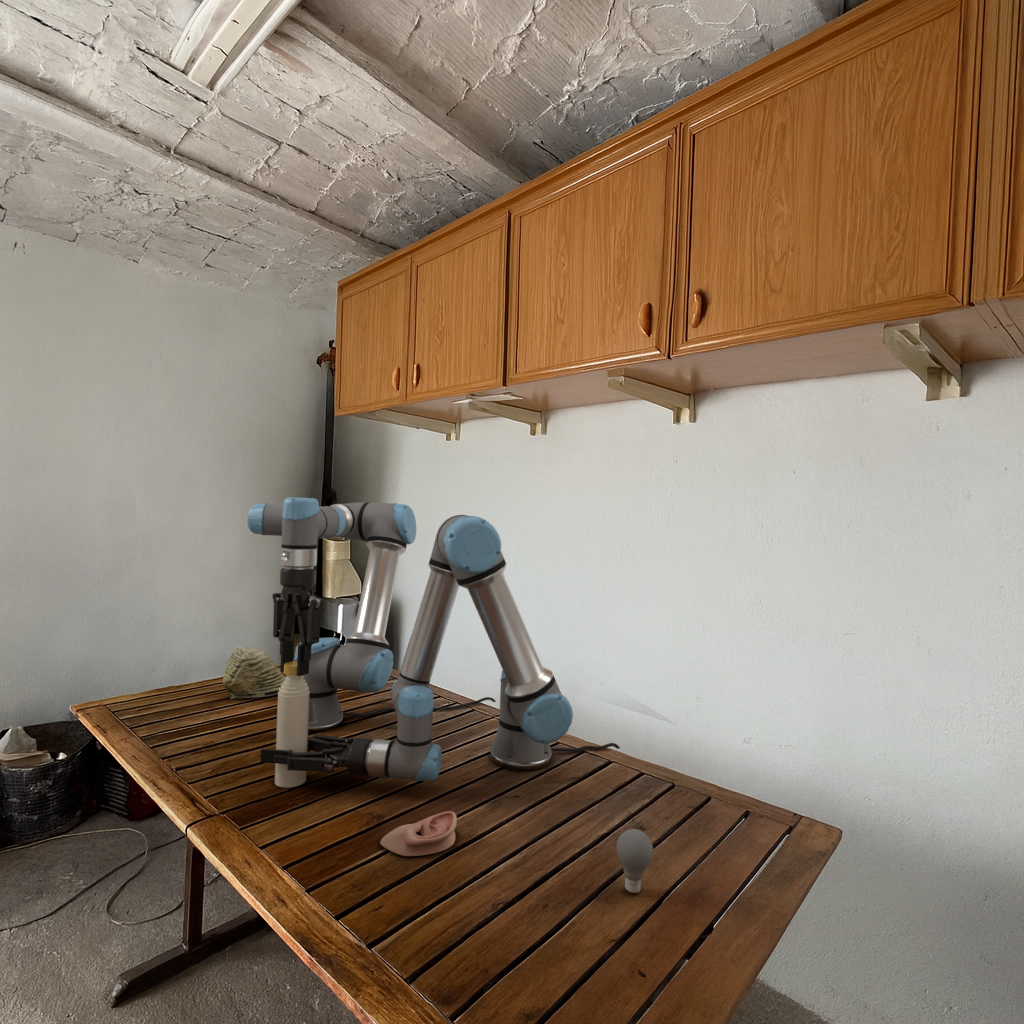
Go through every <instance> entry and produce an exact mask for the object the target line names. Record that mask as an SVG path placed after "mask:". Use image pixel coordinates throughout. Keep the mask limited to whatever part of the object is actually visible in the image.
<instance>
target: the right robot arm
mask: <svg viewBox="0 0 1024 1024" xmlns="http://www.w3.org/2000/svg"><path fill="white" fill-rule="evenodd" d="M428 567H429V569H430V573H429V576H428V579H427V582H426V585H425V589H424V592H423V594H422V595H423V596H422V598H421V602H420V604H419V608H418V612H417V614H416V617H415V621H414V624H413V628H412V631H411V634H410V638H409V641H408V644H407V647H406V650H405V653H404V657H403V661H402V664H401V667H400V670H399V674H398V676H397V679H396V680H395V681H394V683H393V684H392V687H391V691H390V699H391V700H390V701H391V702H392V704H393V707H395V710H394V711H395V714H396V717H397V726H396V727H397V730H396V731H397V734H396V740H391V739H378V738H374V739H371V738H364V737H357V738H354V737H339V736H333V735H332V736H331V735H324V734H313V735H312V736H308V747H307V752H303V753H292V750H289V751H288V750H276V748H264V747H263V748H261V749H260V763H266V764H275V763H277V764H288V767H287V770H293V771H307V772H316V773H317V772H318V773H319V772H320V773H326V774H333V773H334V769H335V768H345V767H346V769H347V770H348V773H349V774H350V775H352V776H353V775H354V776H365V777H366V776H367V775H368V776H369V777H378V778H380V779H384V778H390V779H399V780H400V779H402V780H408V781H409V780H410V781H415V782H432V781H436V779H438V777H439V775H440V771H441V767H442V761H443V753H442V751H443V750H442V747H441V746H440V745H439V744H436V743H434V742H433V736H432V735H433V719H434V718H433V717H434V716H433V715H434V710H433V708H435V703H434V692H433V690H432V689H431V688H430V687H429V685H430V683H431V679H432V676H433V672H434V669H435V666H436V663H437V659H438V656H439V653H440V650H441V647H442V643H443V640H444V637H445V634H446V630H447V628H448V625H449V621H450V618H451V614H452V611H453V607H454V606H455V605H454V604H455V601H456V598H457V596H458V595H457V594H458V592H459V589H460V587H461V588H464V589H466V590H467V591H468V593H469V595H470V598H471V600H472V602H473V604H474V607H475V609H476V612H477V614H478V616H479V618H480V621H481V623H482V625H483V628H484V630H485V632H486V635H487V637H488V639H489V641H490V644H491V646H492V649H493V651H494V652H495V656H496V658H497V660H498V662H499V665H500V667H501V669H502V670H501V673H500V674H501V675H500V680H499V681H500V689H499V690H500V693H499V717H498V718H499V719H498V727H497V730H496V733H495V736H494V739H493V741H492V744H491V746H490V756H489V757H490V760H491V762H493V763H494V764H495V765H497V766H500V767H502V768H504V769H508V770H514V771H534V770H539V769H542V768H545V767H547V766H549V765H550V763H551V762H552V753H553V752H569V753H576V752H581V751H584V750H596V751H597V750H599V751H600V750H605V749H608V748H610V747H614V748H615V749H618V750H619V749H621V747H620V746H619V744H617V743H615V742H609V743H607V744H603V745H599V746H598V745H583V746H580V747H576V748H575V747H574V748H573V747H572V748H571V747H551V745H550V744H552V743H555V742H557V741H558V740H560V739H561V738H563V737H564V736H565V735H566V734H567V732H568V731H569V729H570V727H571V725H572V723H573V718H574V714H573V713H574V711H573V708H572V705H571V703H570V701H569V699H567V697H566V696H565V695H563V694H562V692H561V689H560V687H559V685H558V682H557V679H556V677H555V676H554V672H553V671H552V670H551V669H550V668H547V667H545V666H543V664H542V662H541V659H540V657H539V655H538V652H537V649H536V648H535V645H534V643H533V641H532V638H531V636H530V634H529V632H528V631H529V630H528V629H527V626H526V624H525V622H524V620H523V617H522V615H521V613H520V610H519V608H518V604H517V603H516V601H515V600H516V599H515V598H514V595H513V593H512V591H511V589H510V586H509V585H508V582H507V580H506V577H505V575H504V573H505V570H506V567H507V562H506V559H505V557H504V554H503V552H502V541H501V536H500V534H499V532H498V530H497V528H495V526H493V524H491V523H490V522H489V521H488V520H486V519H484V518H482V517H479V516H475V515H467V514H456V515H453V516H450V517H448V518H446V519H445V520H444V521H443V522H442V523H441V525H440V526H439V527H438V530H437V532H436V534H435V539H434V543H433V545H432V549H431V555H430V558H429V561H428Z"/></svg>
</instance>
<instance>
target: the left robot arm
mask: <svg viewBox="0 0 1024 1024" xmlns="http://www.w3.org/2000/svg"><path fill="white" fill-rule="evenodd" d="M246 522H247V527H248V529H249V531H250V532H251V533H253V534H254V535H261V536H273V537H275V536H276V537H281V547H280V548H281V550H280V566H282V567H281V568H280V570H279V585H281V586H282V589H281V591H280V592H273V593H272V601H273V619H272V621H273V624H272V625H273V626H272V636H273V638H277V640H278V641H279V656H280V666H279V667H280V669H279V670H280V672H281V673H284V664H285V663H287V662H292V661H297V676H303V677H304V680H305V681H306V683H307V686H308V687H309V691H310V695H309V721H308V733H316V732H325V731H329V730H332V729H335V728H337V727H339V726H340V725H342V723H343V722H344V716H349V717H352V716H353V717H368V716H372V715H374V714H377V713H381V712H387V711H388V712H389V711H395V707H394V706H393V707H392V706H391V707H382V708H378V709H375V710H371V711H369V712H363V713H362V712H361V713H359V712H346V711H345V712H343V709H342V706H341V702H340V699H339V695H338V690H344V691H345V690H347V691H354V692H360V693H377V692H380V691H381V690H382V689H383V688H384V687H385V685H387V684H388V681H389V680H390V677H391V675H392V671H393V668H394V654H393V651H392V650H390V649H389V646H390V644H389V642H388V641H387V639H386V632H387V626H388V620H389V614H390V610H391V604H392V598H393V593H394V587H395V583H396V577H397V571H398V565H399V560H400V556H401V555H403V554H404V553H405V552H406V551H407V546H408V545H411V544H414V542H415V540H416V536H417V520H416V515H415V513H414V510H413V508H412V507H410V505H408V504H404V503H397V502H394V503H391V502H368V501H360V502H350V503H334V504H331V505H329V506H328V505H325V506H322V505H321V506H320V502H319V500H318V499H317V498H314V497H290V496H289V497H286V498H285V499H284V500H283V503H282V504H277V503H255V504H253V505H251V507H250V508H249V510H248V512H247V520H246ZM333 538H344V539H350V540H355V541H360V542H361V541H362V542H365V546H366V547H367V548H368V550H369V554H368V559H367V564H366V569H365V573H364V579H363V583H362V589H361V593H360V598H359V604H358V609H357V614H356V618H355V624H354V627H353V632H352V633H351V634H350V635H348V636H347V637H346V641H345V644H343V645H342V644H340V643H341V641H340V639H339V638H338V637H334V636H333V637H320V633H321V612H322V611H321V610H322V607H323V603H324V599H323V598H322V597H321V598H317V597H316V596H315V594H314V590H313V587H314V586H315V585H316V584H317V583H316V582H317V570H316V568H314V567H317V563H318V539H333ZM296 617H297V624H298V633H299V639H300V641H299V643H298V644H297V645H296V647H295V652H294V640H293V639H294V637H293V636H292V634H293V629H294V625H295V620H296ZM294 653H295V654H294ZM485 701H491V702H493V703H496V702H497V701H496V700H495V699H494V698H493V697H490V696H486V697H483V698H480V699H477V700H474V701H469V702H465V703H461V704H458V705H450V706H439V707H434V708H433V711H447V710H455V709H461V708H464V707H465V708H466V707H468V706H473V705H476V704H479V703H482V702H485Z"/></svg>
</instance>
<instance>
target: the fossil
mask: <svg viewBox="0 0 1024 1024" xmlns="http://www.w3.org/2000/svg"><path fill="white" fill-rule="evenodd" d="M222 676H223V677H222V685H223V687H224V688H225V690H226V691H228V693H229V698H230V699H250V698H264V697H271V696H275V695H278V692H279V688H280V687H281V684H283V681H284V680H285V677H286V676H284V674H283V672H280V669H279V668H278V667H277V665H276V663H275V662H274V660H273V659H272V658H271V657H270V656H269V655H268V654H267V653H266V652H265V650H264V649H263V648H260V647H258V648H251V647H247V646H246V647H245V646H238V647H237V648H236V649H235V650H233V651H232V653H231V656H230V657H229V659H228V660H227V663H226V666H225V668H224V671H223V675H222Z"/></svg>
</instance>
